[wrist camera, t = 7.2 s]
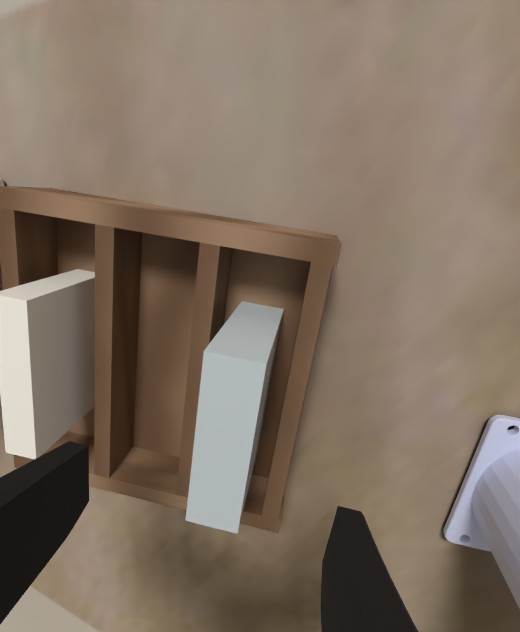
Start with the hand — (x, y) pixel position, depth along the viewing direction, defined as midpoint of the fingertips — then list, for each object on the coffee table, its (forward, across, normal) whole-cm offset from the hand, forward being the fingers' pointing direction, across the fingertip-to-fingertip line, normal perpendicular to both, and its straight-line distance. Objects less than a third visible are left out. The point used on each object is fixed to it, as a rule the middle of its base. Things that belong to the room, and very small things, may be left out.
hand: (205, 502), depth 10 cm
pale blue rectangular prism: (+8, 0, 0) cm, 8 cm away
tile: (+8, +9, 0) cm, 12 cm away
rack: (+9, +4, 0) cm, 10 cm away
